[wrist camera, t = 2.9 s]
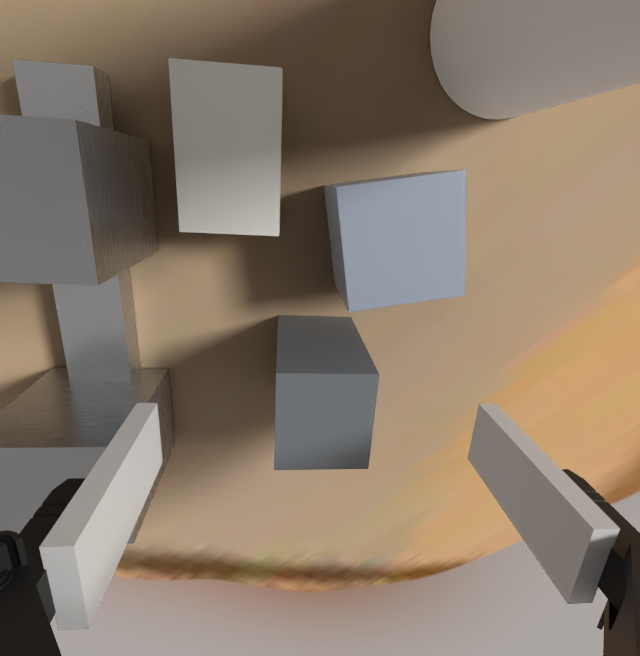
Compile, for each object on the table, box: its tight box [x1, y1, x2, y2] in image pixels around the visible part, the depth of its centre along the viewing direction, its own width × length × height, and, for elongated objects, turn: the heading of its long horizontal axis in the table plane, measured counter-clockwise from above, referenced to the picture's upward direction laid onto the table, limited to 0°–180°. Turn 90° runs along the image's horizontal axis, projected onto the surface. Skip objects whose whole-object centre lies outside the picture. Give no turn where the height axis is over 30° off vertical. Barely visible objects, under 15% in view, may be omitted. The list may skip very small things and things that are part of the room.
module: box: [274, 315, 379, 470], centre depth 19 cm, size 5×4×7 cm
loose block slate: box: [324, 170, 466, 312], centre depth 18 cm, size 5×5×5 cm
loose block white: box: [168, 58, 283, 236], centre depth 17 cm, size 6×4×4 cm, turn 177°
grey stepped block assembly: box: [0, 59, 175, 543], centre depth 17 cm, size 20×6×7 cm, turn 177°
